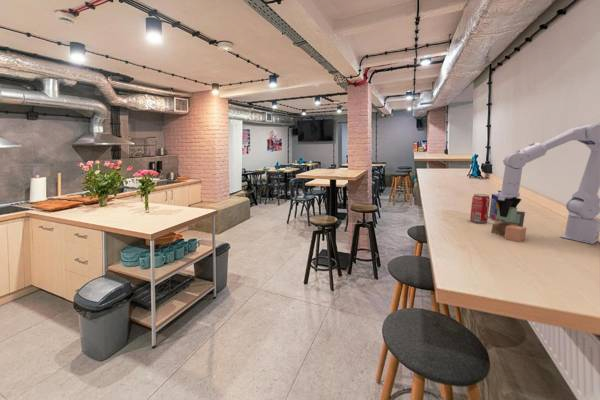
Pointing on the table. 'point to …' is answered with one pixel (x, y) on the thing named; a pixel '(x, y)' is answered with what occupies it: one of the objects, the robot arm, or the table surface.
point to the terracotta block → (515, 233)
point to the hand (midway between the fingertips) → (506, 215)
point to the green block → (510, 216)
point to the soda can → (480, 208)
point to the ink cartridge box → (494, 207)
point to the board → (517, 219)
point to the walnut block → (500, 227)
